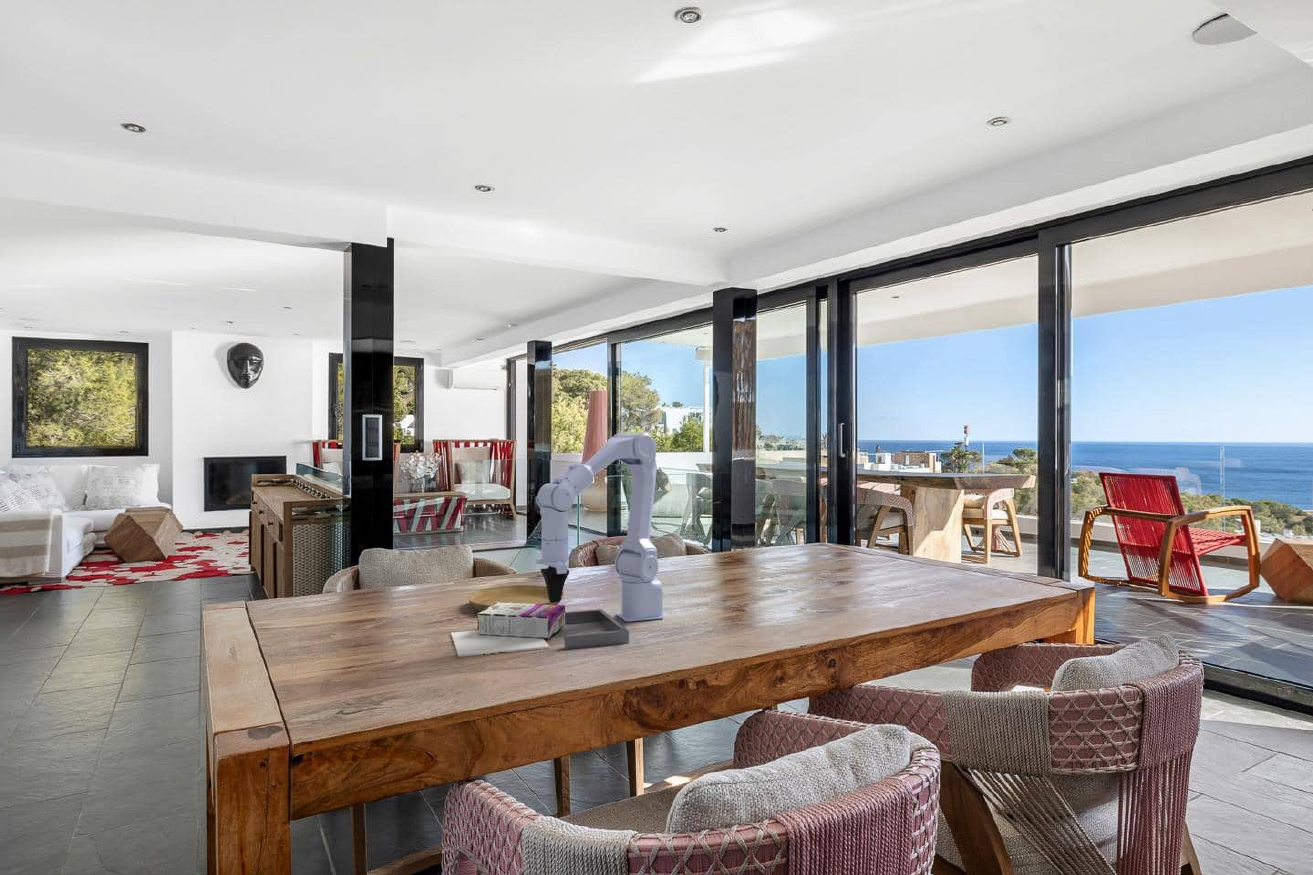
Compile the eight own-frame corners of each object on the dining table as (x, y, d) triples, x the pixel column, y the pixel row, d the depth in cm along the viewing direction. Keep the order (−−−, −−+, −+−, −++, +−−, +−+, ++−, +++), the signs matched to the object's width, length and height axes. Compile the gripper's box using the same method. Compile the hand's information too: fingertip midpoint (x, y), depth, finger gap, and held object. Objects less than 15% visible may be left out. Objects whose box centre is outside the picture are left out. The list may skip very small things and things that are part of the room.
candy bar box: (566, 626, 169) (498, 622, 173) (566, 604, 169) (498, 600, 173) (548, 640, 158) (476, 635, 162) (548, 616, 158) (476, 612, 162)
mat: (533, 627, 170) (533, 625, 170) (549, 648, 153) (549, 646, 153) (450, 634, 164) (450, 632, 164) (458, 656, 147) (458, 654, 147)
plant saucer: (544, 620, 178) (544, 606, 178) (450, 615, 182) (450, 602, 182) (576, 599, 201) (576, 586, 201) (491, 595, 206) (491, 583, 206)
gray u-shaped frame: (601, 619, 177) (601, 608, 177) (628, 642, 157) (628, 630, 157) (544, 624, 173) (544, 613, 173) (565, 649, 153) (565, 636, 153)
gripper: (530, 535, 168) (530, 596, 168) (543, 544, 155) (543, 610, 155) (561, 534, 171) (561, 594, 171) (576, 542, 157) (576, 607, 157)
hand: (554, 601), depth 163 cm, fingers closed
